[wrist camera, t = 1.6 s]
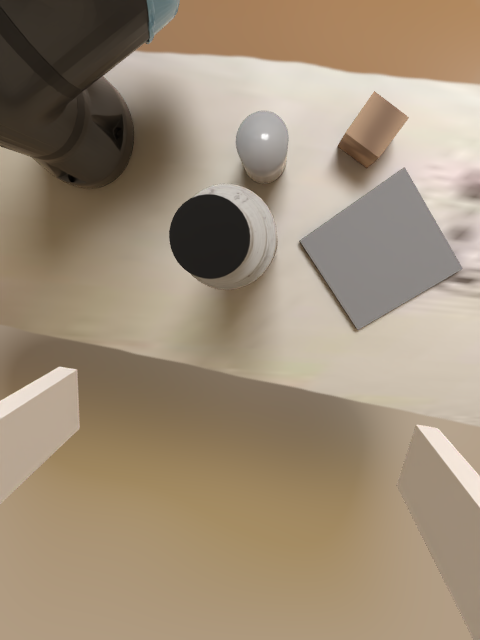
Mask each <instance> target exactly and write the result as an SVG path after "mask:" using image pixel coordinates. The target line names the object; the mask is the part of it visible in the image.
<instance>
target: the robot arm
mask: <svg viewBox="0 0 480 640" xmlns="http://www.w3.org/2000/svg"><path fill="white" fill-rule="evenodd" d="M179 1H180V0H0V146H1V147H4V148H7V149H10V150H13V151H16V152H19V153H22V154H25V155H28V156H30V157H32V158H33V159H34V160H36V161H37V162H38V163H39V164H40V165H41V166H43V167H44V168H45V169H46V170H47V171H48V172H50V173H51V174H52V175H53V176H55V177H56V178H58V179H60V180H62V181H64V182H66V183H69V184H72V185H75V186H78V187H83V188H97V187H102V186H104V185H107V184H109V183H110V182H112V181H113V180H115V179H116V178H117V177H118V176H119V175H120V174H121V173H122V171H123V170H124V169H125V167H126V165H127V163H128V161H129V159H130V156H131V153H132V148H133V140H134V131H133V123H132V119H131V115H130V112H129V109H128V107H127V105H126V103H125V101H124V99H123V98H122V96H121V95H120V93H119V92H118V91H117V90H116V89H115V88H114V87H113V86H112V85H111V84H110V83H109V82H108V81H107V80H106V79H105V78H104V77H103V75H105V74H106V73H107V72H108V71H110V70H111V69H112V68H113V67H115V66H116V65H117V64H118V63H120V62H121V61H122V60H123V59H125V58H126V57H127V56H129V55H130V54H131V53H132V52H134V51H135V50H136V49H137V48H139V47H140V46H141V45H142V44H144V43H146V44H149V43H150V42H151V41H152V40H153V38H154V35H155V34H156V33H157V32H159V31H160V30H161V29H162V28H163V27H164V26H165V25H167V24H168V23H169V22H170V21H171V20H172V19H173V18H174V17H175V15H176V13H177V11H178V6H179ZM78 400H79V399H78V374H77V369H70V368H64V367H58V368H57V369H55V370H53V371H51V372H49V373H48V374H46V375H44V376H42V377H41V378H39V379H37V380H35V381H34V382H32V383H30V384H29V385H27V386H25V387H24V388H22V389H20V390H18V391H16V392H15V393H13V394H11V395H9V396H8V397H6V398H4V399H3V400H1V401H0V504H1V503H2V502H3V501H4V500H5V499H6V498H7V497H8V496H9V495H10V494H11V493H12V492H13V491H14V490H15V489H16V488H18V487H19V485H21V484H22V483H23V482H24V481H25V480H26V479H27V478H28V477H29V476H30V475H31V474H32V473H33V472H34V471H35V470H37V469H38V468H39V467H40V466H41V465H42V464H43V463H44V462H45V461H46V460H47V459H48V458H49V457H50V456H51V455H52V454H53V453H54V452H55V451H56V450H58V448H60V446H62V445H63V444H64V443H65V442H66V441H67V440H68V439H69V438H70V437H71V436H72V435H73V434H74V433H75V432H76V431H77V430H79V428H80V424H79V401H78ZM397 487H398V489H399V491H400V493H401V495H402V497H403V499H404V501H405V503H406V505H407V507H408V509H409V511H410V513H411V515H412V517H413V519H414V521H415V523H416V525H417V527H418V529H419V531H420V533H421V535H422V538H423V539H424V541H425V544H426V546H427V547H428V550H429V552H430V554H431V556H432V558H433V559H434V562H435V564H436V566H437V568H438V570H439V572H440V574H441V576H442V578H443V580H444V582H445V583H446V586H447V588H448V590H449V592H450V594H451V596H452V598H453V600H454V602H455V604H456V606H457V608H458V610H459V612H460V614H461V616H462V618H463V620H464V622H465V624H466V626H467V628H468V630H469V632H470V634H471V636H472V638H473V640H480V476H479V475H478V474H477V472H476V471H475V470H474V469H473V468H472V467H471V466H470V464H469V463H468V462H467V461H466V460H465V459H464V458H463V456H462V455H461V454H460V453H459V452H458V451H457V450H456V449H455V447H454V446H453V445H452V444H451V443H450V442H449V440H448V439H447V438H446V437H445V436H444V435H443V434H442V432H441V431H440V430H439V429H438V428H433V427H428V426H421V425H416V426H415V429H414V432H413V436H412V439H411V442H410V445H409V448H408V451H407V454H406V458H405V461H404V464H403V467H402V470H401V473H400V477H399V480H398V483H397Z"/></svg>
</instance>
